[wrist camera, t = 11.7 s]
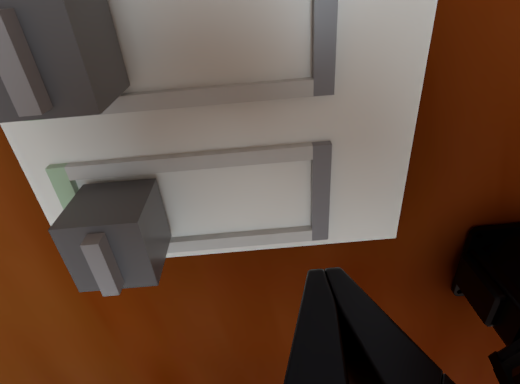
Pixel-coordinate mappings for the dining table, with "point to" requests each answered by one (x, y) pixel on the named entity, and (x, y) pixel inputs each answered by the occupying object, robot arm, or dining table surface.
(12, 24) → the toggle middle
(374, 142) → the breaker board
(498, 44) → the dining table surface
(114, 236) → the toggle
